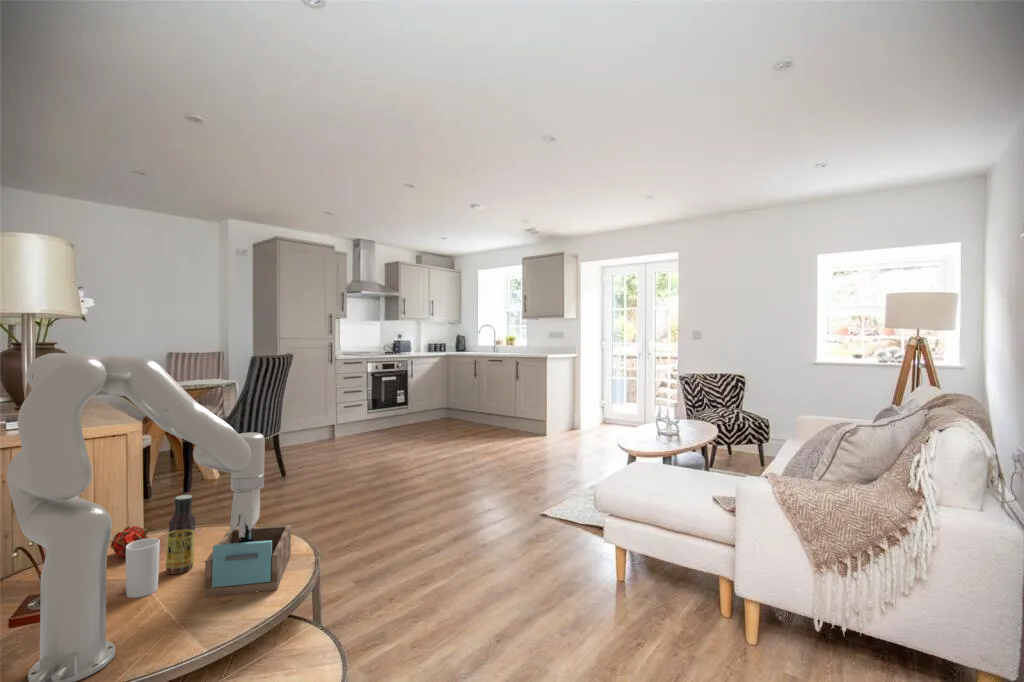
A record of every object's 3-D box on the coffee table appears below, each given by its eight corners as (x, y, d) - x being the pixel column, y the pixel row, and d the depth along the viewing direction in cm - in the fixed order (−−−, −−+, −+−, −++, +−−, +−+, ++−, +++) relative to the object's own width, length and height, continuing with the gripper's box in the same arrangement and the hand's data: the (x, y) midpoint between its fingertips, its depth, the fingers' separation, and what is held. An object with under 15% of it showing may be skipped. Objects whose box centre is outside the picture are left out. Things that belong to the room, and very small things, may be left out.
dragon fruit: (136, 551, 149) (130, 573, 139) (106, 539, 145) (98, 562, 135) (156, 526, 151) (152, 547, 141) (128, 514, 147) (122, 535, 136)
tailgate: (269, 583, 124) (270, 543, 124) (211, 589, 121) (211, 548, 121) (271, 579, 126) (272, 540, 126) (213, 585, 123) (214, 544, 123)
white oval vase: (155, 595, 121) (155, 547, 121) (121, 601, 119) (121, 551, 119) (164, 577, 131) (165, 531, 131) (133, 581, 128) (134, 535, 128)
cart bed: (277, 590, 125) (277, 554, 125) (204, 597, 121) (205, 560, 121) (290, 555, 145) (291, 524, 145) (228, 561, 140) (229, 529, 140)
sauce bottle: (163, 577, 131) (164, 502, 130) (168, 567, 136) (169, 494, 136) (192, 573, 133) (193, 499, 133) (196, 563, 139) (197, 492, 139)
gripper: (239, 474, 133) (237, 542, 134) (222, 491, 119) (221, 568, 119) (269, 473, 135) (268, 540, 136) (257, 489, 121) (255, 565, 121)
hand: (246, 553), depth 127 cm, fingers closed
